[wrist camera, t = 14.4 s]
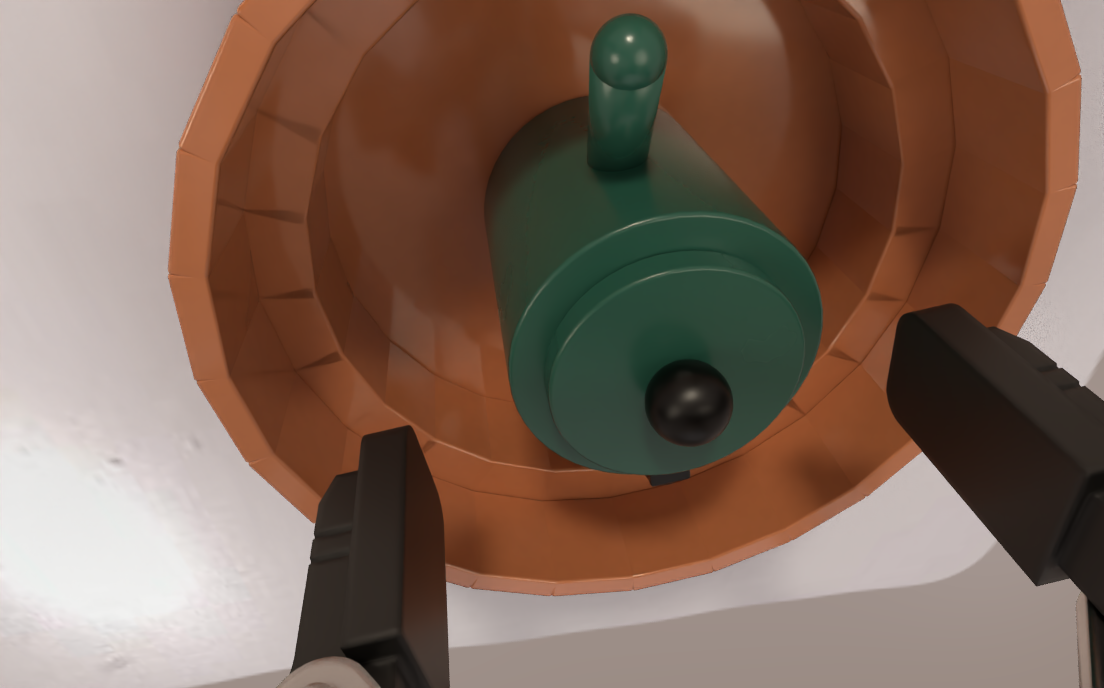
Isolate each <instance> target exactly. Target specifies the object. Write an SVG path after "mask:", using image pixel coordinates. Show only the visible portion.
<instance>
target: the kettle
mask: <svg viewBox="0 0 1104 688" xmlns="http://www.w3.org/2000/svg"><path fill="white" fill-rule="evenodd" d="M667 58H668V48H667V43H666V39H665V37H664V34H663V32H662V31H661V30H660V28H659V27H658V25H657V24H656V23H655V22H653V21H652V20H651V19H649V18H648V17H645V16H643V15H640V14H635V13H627V14H621V15H618V16H615V17H613V18H611V19H610V20H608V21H607V22H606V23H605V24H603V25H602V26H601V28H600V29H599V30H598V32H597V33H596V35H595V37H594V39H593V41H592V45H591V49H590V60H589V96H583V97H578V98H575V99H571V100H568V101H565V102H562V103H560V104H558V105H555V106H553V107H551V108H549V109H547V110H545V111H544V112H542V113H540V114H539V115H537V116H536V117H534V118H533V119H532V120H530V121H529V122H528V123H527V124H525V125H524V126H523V127H522V128H521V129H520V130H519V131H518V132H517V133H516V134H515V135H514V136H513V137H512V138H511V140H510V141H509V142H508V144H507V145H506V146H505V148H504V149H503V150H502V152H501V154H500V155H499V157H498V159H497V161H496V162H495V164H494V167H493V169H492V172H491V174H490V177H489V180H488V184H487V188H486V192H485V201H484V221H485V228H486V235H487V241H488V248H489V254H490V261H491V268H492V274H493V281H494V287H495V294H496V301H497V307H498V314H499V320H500V327H501V334H502V340H503V347H504V353H505V360H506V367H507V373H508V380H509V385H510V390H511V395H512V398H513V401H514V404H515V406H516V409H517V411H518V413H519V415H520V416H521V418H522V420H523V422H524V423H525V425H526V426H527V427H528V428H529V430H530V431H531V432H532V433H533V435H534V436H535V437H536V438H537V439H538V440H540V441H541V442H542V443H543V444H544V445H545V446H546V447H547V448H549V449H550V450H552V451H553V452H555V453H556V454H558V455H559V456H561V457H563V458H565V459H567V460H569V461H571V462H573V463H575V464H578V465H581V466H583V467H586V468H589V469H593V470H598V471H602V472H607V473H615V474H625V475H645V476H646V477H647V478H648V479H649V482H650V485H651V486H652V487H655V486H659V485H670V484H673V483H675V482H677V481H681V480H685V479H689V478H690V470H692V469H695V468H699V467H702V466H705V465H707V464H710V463H713V462H715V461H717V460H720V459H722V458H724V457H726V456H728V455H730V454H732V453H733V452H735V451H737V450H738V449H740V448H742V447H743V446H745V445H746V444H747V443H749V442H750V441H752V440H753V439H754V438H756V437H757V436H758V435H759V434H760V433H762V432H763V431H764V430H765V429H766V428H767V427H768V426H769V425H770V424H771V423H772V422H773V421H774V420H775V419H776V418H777V416H778V415H779V414H780V413H781V411H782V410H783V409H784V408H785V407H786V406H787V405H788V403H789V402H790V401H791V400H792V398H793V397H794V396H795V394H796V393H797V392H798V390H799V389H800V387H801V386H802V384H803V382H804V381H805V379H806V377H807V376H808V374H809V372H810V369H811V367H812V365H813V363H814V361H815V358H816V355H817V352H818V348H819V345H820V341H821V335H822V328H823V306H822V300H821V294H820V289H819V286H818V283H817V281H816V278H815V275H814V273H813V271H812V269H811V268H810V266H809V264H808V262H807V261H806V259H805V258H804V257H803V256H802V254H801V253H800V252H799V251H798V250H797V248H796V247H795V246H794V245H793V244H792V243H791V242H790V241H789V240H788V239H787V237H786V236H785V235H784V234H783V233H782V232H781V231H780V230H779V229H778V228H777V227H776V226H775V225H774V224H773V223H772V222H771V221H770V219H769V218H768V217H767V216H766V215H765V214H764V213H763V212H762V211H761V210H760V209H759V208H758V207H757V206H756V205H755V204H754V203H753V201H752V200H751V199H750V198H749V197H748V196H747V195H746V194H745V193H744V192H743V191H742V190H741V189H740V188H739V187H738V186H737V185H736V183H735V182H734V181H733V180H732V179H731V178H730V177H729V176H728V175H727V174H726V173H725V172H724V171H723V170H722V169H721V168H720V166H719V165H718V164H717V163H716V162H715V161H714V160H713V159H712V158H711V157H710V156H709V155H708V154H707V153H706V152H705V151H704V150H703V148H702V147H701V146H700V145H699V144H698V143H697V142H696V141H695V140H694V139H693V138H692V137H691V136H690V135H689V134H688V133H687V132H686V130H685V129H684V128H683V127H682V126H681V125H680V124H679V123H678V122H677V121H675V120H674V119H673V118H672V117H671V116H670V115H669V114H667V113H666V112H664V111H662V110H661V109H659V108H658V105H659V100H660V95H661V90H662V85H663V80H664V75H665V70H666V65H667Z"/></svg>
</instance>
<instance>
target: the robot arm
mask: <svg viewBox="0 0 1104 688" xmlns="http://www.w3.org/2000/svg"><path fill="white" fill-rule="evenodd" d="M886 393H887V399H888V403H889V406H890V409H891V411H892V413H893V415H894V417H895V419H896V420H897V422H898V423H899V424H900V425H901V427H902V428H903V429H904V430H905V431H906V433H907V434H908V435H909V436H910V437H911V439H912V440H913V441H914V442H915V443H916V444H917V446H918V447H919V448H920V449H921V450H922V452H923V453H924V454H925V455H926V456H927V457H928V459H929V460H930V461H931V462H932V463H933V465H934V466H935V467H936V468H937V469H938V470H939V472H940V473H941V474H942V475H943V476H944V478H945V479H946V480H947V481H948V482H949V484H950V485H951V486H952V487H953V488H954V489H955V491H956V492H957V493H958V494H959V495H960V497H961V498H962V499H963V500H964V501H965V502H966V504H967V505H968V506H969V507H970V508H971V510H972V511H973V512H974V513H975V514H976V516H977V517H978V518H979V519H980V520H981V521H982V523H983V524H984V525H985V526H986V527H987V529H988V530H989V531H990V532H991V533H992V534H993V536H994V537H995V538H996V539H997V540H998V542H999V543H1000V544H1001V545H1002V546H1003V548H1004V549H1005V550H1006V551H1007V552H1008V553H1009V555H1010V556H1011V557H1012V558H1013V559H1014V561H1015V562H1016V563H1017V564H1018V565H1019V566H1020V568H1021V569H1022V570H1023V571H1024V572H1025V574H1026V575H1027V576H1028V577H1029V578H1030V579H1031V581H1032V582H1033V583H1034V584H1035V585H1036V586H1040V585H1044V584H1048V583H1052V582H1056V581H1061V580H1064V579H1069V578H1070V579H1071V580H1072V581H1073V582H1074V584H1075V585H1076V586H1077V587H1078V588H1079V589H1080V590H1081V592H1080V594H1079V596H1078V599H1077V601H1076V621H1077V622H1076V624H1077V646H1078V667H1079V688H1104V401H1103V400H1102V399H1101V398H1099V397H1098V396H1097V395H1096V394H1094V393H1093V392H1092V391H1091V390H1089V389H1088V388H1087V387H1086V386H1082V387H1081V386H1080V385H1079V381H1078V380H1077V379H1076V378H1074V377H1073V376H1072V375H1070V374H1069V373H1068V372H1067V371H1065V370H1064V369H1063V368H1058V367H1057V363H1055V362H1054V361H1053V360H1052V359H1050V358H1049V357H1048V356H1047V355H1045V354H1044V353H1043V352H1042V351H1040V350H1039V349H1038V348H1037V347H1035V346H1034V345H1033V344H1032V343H1030V342H1029V341H1026V340H1024V339H1022V338H1020V337H1017V336H1015V335H1013V334H1010V333H1008V332H1006V331H1004V330H1001V329H999V328H997V327H995V326H992V327H987V328H986V327H985V326H984V325H983V324H982V323H980V322H979V321H978V320H977V319H976V318H974V317H973V316H972V315H971V314H970V313H968V312H967V311H966V310H965V309H964V308H962V307H961V306H959V305H957V304H954V303H948V304H944V305H940V306H935V307H931V308H926V309H922V310H918V311H913V312H909V313H905V314H903V315H902V316H901V317H900V318H899V320H898V323H897V327H896V333H895V338H894V344H893V350H892V356H891V361H890V367H889V373H888V379H887V385H886ZM314 535H315V539H314V540H313V542H312V549H311V555H310V560H311V564H310V565H309V568H308V574H307V581H306V587H305V593H304V600H303V606H302V612H301V619H300V625H299V631H298V638H297V644H296V650H295V657H294V661H293V665H292V669H291V672H290V674H289V675H288V676H287V677H286V678H285V679H284V680H283V681H282V682H281V683H280V684H279V685H278V686H277V687H276V688H450V681H449V653H448V624H447V595H446V567H445V538H444V520H443V512H442V507H441V502H440V498H439V494H438V491H437V488H436V485H435V482H434V480H433V477H432V475H431V472H430V470H429V467H428V465H427V462H426V459H425V457H424V454H423V452H422V449H421V447H420V444H419V442H418V439H417V436H416V434H415V432H414V430H413V428H412V426H410V425H406V426H402V427H397V428H393V429H389V430H384V431H380V432H375V433H371V434H367V435H364V436H363V437H362V440H361V446H360V456H359V466H358V470H357V471H352V472H348V473H344V474H339V475H336V476H335V478H334V479H333V481H332V483H331V484H330V486H329V488H328V489H327V491H326V493H325V494H324V496H323V497H322V499H321V501H320V502H319V504H318V511H317V517H316V523H315V530H314Z"/></svg>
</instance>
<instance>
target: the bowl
mask: <svg viewBox="0 0 1104 688" xmlns="http://www.w3.org/2000/svg"><path fill="white" fill-rule="evenodd" d="M627 13H635V14H640V15H643V16H645V17H648V18H649V19H651V20H652V21H653V22H655V23H656V24H657V25H658V27H659V28H660V30H661V31H662V32H663V34H664V37H665V39H666V43H667V48H668V58H667V65H666V70H665V75H664V80H663V85H662V90H661V95H660V100H659V105H658V108H659V109H661V110H662V111H664V112H666V113H667V114H669V115H670V116H671V117H672V118H673V119H674V120H675V121H677V122H678V123H679V124H680V125H681V126H682V127H683V128H684V129H685V130H686V132H687V133H688V134H689V135H690V136H691V137H692V138H693V139H694V140H695V141H696V142H697V143H698V144H699V145H700V146H701V147H702V148H703V150H704V151H705V152H706V153H707V154H708V155H709V156H710V157H711V158H712V159H713V160H714V161H715V162H716V163H717V164H718V165H719V166H720V168H721V169H722V170H723V171H724V172H725V173H726V174H727V175H728V176H729V177H730V178H731V179H732V180H733V181H734V182H735V183H736V185H737V186H738V187H739V188H740V189H741V190H742V191H743V192H744V193H745V194H746V195H747V196H748V197H749V198H750V199H751V200H752V201H753V203H754V204H755V205H756V206H757V207H758V208H759V209H760V210H761V211H762V212H763V213H764V214H765V215H766V216H767V217H768V218H769V219H770V221H771V222H772V223H773V224H774V225H775V226H776V227H777V228H778V229H779V230H780V231H781V232H782V233H783V234H784V235H785V236H786V237H787V239H788V240H789V241H790V242H791V243H792V244H793V245H794V246H795V247H796V248H797V250H798V251H799V252H800V253H801V254H802V256H803V257H804V258H805V259H806V261H807V262H808V264H809V266H810V268H811V269H812V271H813V273H814V275H815V278H816V281H817V283H818V286H819V289H820V294H821V300H822V306H823V328H822V335H821V341H820V345H819V348H818V352H817V355H816V358H815V361H814V363H813V365H812V367H811V369H810V372H809V374H808V376H807V377H806V379H805V381H804V382H803V384H802V386H801V387H800V389H799V390H798V392H797V393H796V394H795V396H794V397H793V398H792V400H791V401H790V402H789V403H788V405H787V406H786V407H785V408H784V409H783V410H782V411H781V413H780V414H779V415H778V416H777V418H776V419H775V420H774V421H773V422H772V423H771V424H770V425H769V426H768V427H767V428H766V429H765V430H764V431H763V432H762V433H760V434H759V435H758V436H757V437H756V438H754V439H753V440H752V441H750V442H749V443H747V444H746V445H745V446H743V447H742V448H740V449H738V450H737V451H735V452H733V453H732V454H730V455H728V456H726V457H724V458H722V459H720V460H717V461H715V462H713V463H710V464H707V465H705V466H702V467H699V468H695V469H692V470H690V478H689V479H685V480H681V481H677V482H675V483H673V484H670V485H659V486H655V487H652V486H651V485H650V482H649V479H648V478H647V477H646V476H645V475H625V474H615V473H607V472H602V471H598V470H593V469H589V468H586V467H583V466H581V465H578V464H575V463H573V462H571V461H569V460H567V459H565V458H563V457H561V456H559V455H558V454H556V453H555V452H553V451H552V450H550V449H549V448H547V447H546V446H545V445H544V444H543V443H542V442H541V441H540V440H538V439H537V438H536V437H535V436H534V435H533V433H532V432H531V431H530V430H529V428H528V427H527V426H526V425H525V423H524V422H523V420H522V418H521V416H520V415H519V413H518V411H517V409H516V406H515V404H514V401H513V398H512V395H511V390H510V385H509V380H508V373H507V367H506V360H505V353H504V347H503V340H502V334H501V327H500V320H499V314H498V307H497V301H496V294H495V287H494V281H493V274H492V268H491V261H490V254H489V248H488V241H487V235H486V228H485V221H484V201H485V192H486V188H487V184H488V180H489V177H490V174H491V172H492V169H493V167H494V164H495V162H496V161H497V159H498V157H499V155H500V154H501V152H502V150H503V149H504V148H505V146H506V145H507V144H508V142H509V141H510V140H511V138H512V137H513V136H514V135H515V134H516V133H517V132H518V131H519V130H520V129H521V128H522V127H523V126H524V125H525V124H527V123H528V122H529V121H530V120H532V119H533V118H534V117H536V116H537V115H539V114H540V113H542V112H544V111H545V110H547V109H549V108H551V107H553V106H555V105H558V104H560V103H562V102H565V101H568V100H571V99H575V98H578V97H583V96H589V60H590V49H591V45H592V41H593V39H594V37H595V35H596V33H597V32H598V30H599V29H600V28H601V26H602V25H603V24H605V23H606V22H607V21H608V20H610V19H611V18H613V17H615V16H618V15H621V14H627ZM1080 72H1081V69H1080V66H1079V62H1078V59H1077V56H1076V52H1075V49H1074V45H1073V42H1072V38H1071V35H1070V31H1069V28H1068V25H1067V21H1066V18H1065V14H1064V11H1063V7H1062V4H1061V0H244V1H243V2H242V3H241V4H240V5H239V6H238V8H237V13H236V14H235V15H233V16H232V18H231V20H230V22H229V25H228V27H227V30H226V32H225V34H224V37H223V39H222V41H221V44H220V46H219V48H218V51H217V53H216V56H215V58H214V60H213V63H212V65H211V67H210V70H209V72H208V75H207V77H206V79H205V82H204V84H203V86H202V89H201V91H200V93H199V96H198V98H197V101H196V103H195V105H194V108H193V110H192V112H191V115H190V117H189V119H188V122H187V124H186V127H185V129H184V131H183V134H182V136H181V138H180V141H179V149H178V150H177V152H176V165H175V179H174V192H173V206H172V220H171V233H170V247H169V261H168V271H169V274H168V279H169V283H170V287H171V290H172V294H173V298H174V302H175V306H176V310H177V314H178V318H179V322H180V325H181V329H182V333H183V337H184V341H185V345H186V349H187V353H188V356H189V360H190V364H191V368H192V372H193V376H194V379H195V380H197V384H198V386H199V387H200V389H201V391H202V392H203V394H204V395H205V397H206V399H207V400H208V402H209V403H210V405H211V407H212V408H213V410H214V411H215V413H216V415H217V416H218V418H219V419H220V421H221V423H222V424H223V426H224V427H225V429H226V431H227V432H228V434H229V435H230V437H231V439H232V440H233V442H234V443H235V445H236V447H237V448H238V450H239V451H240V453H241V455H242V456H243V458H244V459H245V461H246V462H249V466H250V467H251V468H252V469H254V470H255V471H256V472H257V473H258V474H259V475H260V476H261V477H262V478H263V479H265V480H266V481H267V482H268V483H269V484H270V485H271V486H272V487H273V488H275V489H276V490H277V491H278V492H279V493H280V494H281V495H282V496H283V497H284V498H286V499H287V500H288V501H289V502H290V503H291V504H292V505H293V506H294V507H296V508H297V509H298V510H299V511H300V512H301V513H302V514H303V515H304V516H305V517H307V518H308V519H309V520H310V521H311V522H312V523H316V517H317V511H318V504H319V502H320V501H321V499H322V497H323V496H324V494H325V493H326V491H327V489H328V488H329V486H330V484H331V483H332V481H333V479H334V478H335V476H336V475H339V474H344V473H348V472H352V471H357V470H358V466H359V456H360V446H361V440H362V437H363V436H364V435H367V434H371V433H375V432H380V431H384V430H389V429H393V428H397V427H402V426H406V425H410V426H412V428H413V430H414V432H415V434H416V436H417V439H418V442H419V444H420V447H421V449H422V452H423V454H424V457H425V459H426V462H427V465H428V467H429V470H430V472H431V475H432V477H433V480H434V482H435V485H436V488H437V491H438V494H439V498H440V502H441V507H442V512H443V520H444V538H445V567H446V582H450V583H453V584H457V585H460V586H463V587H467V588H469V587H471V588H472V589H481V590H492V591H502V592H512V593H522V594H533V595H543V596H551V595H553V596H563V595H577V594H591V593H605V592H619V591H631V590H632V589H633V590H639V589H643V588H647V587H652V586H656V585H660V584H665V583H669V582H673V581H677V580H682V579H686V578H690V577H695V576H699V575H703V574H708V573H712V572H713V571H717V570H720V569H722V568H725V567H727V566H730V565H732V564H735V563H737V562H740V561H742V560H745V559H747V558H750V557H752V556H755V555H757V554H760V553H762V552H765V551H768V550H770V549H773V548H775V547H778V546H780V545H783V544H785V543H788V542H790V541H791V540H794V539H796V538H798V537H799V536H801V535H803V534H804V533H806V532H808V531H810V530H811V529H813V528H815V527H816V526H818V525H820V524H821V523H823V522H825V521H827V520H828V519H830V518H832V517H833V516H835V515H837V514H839V513H840V512H842V511H844V510H845V509H847V508H849V507H850V506H852V505H854V504H856V503H857V502H859V501H861V500H862V499H864V498H865V496H869V495H870V494H871V493H872V492H873V491H875V490H876V489H877V488H878V487H880V486H881V485H882V484H883V483H884V482H886V481H887V480H888V479H889V478H890V477H892V476H893V475H894V474H895V473H897V472H898V471H899V470H900V469H901V468H903V467H904V466H905V465H906V464H908V463H909V462H910V461H911V460H912V459H914V458H915V457H916V456H917V455H919V454H920V453H921V452H922V450H921V449H920V448H919V447H918V446H917V444H916V443H915V442H914V441H913V440H912V439H911V437H910V436H909V435H908V434H907V433H906V431H905V430H904V429H903V428H902V427H901V425H900V424H899V423H898V422H897V420H896V419H895V417H894V415H893V413H892V411H891V409H890V406H889V403H888V399H887V393H886V385H887V379H888V373H889V367H890V361H891V356H892V350H893V344H894V338H895V333H896V327H897V323H898V320H899V318H900V317H901V316H902V315H903V314H905V313H909V312H913V311H918V310H922V309H926V308H931V307H935V306H940V305H944V304H948V303H954V304H957V305H959V306H961V307H962V308H964V309H965V310H966V311H967V312H968V313H970V314H971V315H972V316H973V317H974V318H976V319H977V320H978V321H979V322H980V323H982V324H983V325H984V326H985V327H986V328H987V327H992V326H995V327H997V328H999V329H1001V330H1004V331H1006V332H1008V333H1010V334H1013V335H1015V336H1017V334H1018V333H1019V331H1020V329H1021V327H1022V326H1023V324H1024V322H1025V321H1026V319H1027V317H1028V315H1029V314H1030V312H1031V310H1032V308H1033V307H1034V305H1035V303H1036V302H1037V300H1038V298H1039V296H1040V295H1041V293H1042V291H1043V289H1044V288H1045V286H1046V284H1045V283H1046V282H1047V281H1048V279H1049V275H1050V272H1051V269H1052V266H1053V263H1054V259H1055V256H1056V253H1057V250H1058V246H1059V243H1060V240H1061V237H1062V234H1063V230H1064V227H1065V224H1066V221H1067V218H1068V214H1069V211H1070V208H1071V205H1072V202H1073V198H1074V195H1075V192H1076V189H1077V185H1076V183H1077V181H1078V164H1079V136H1080V109H1081V81H1082V78H1081V75H1080Z"/></svg>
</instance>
